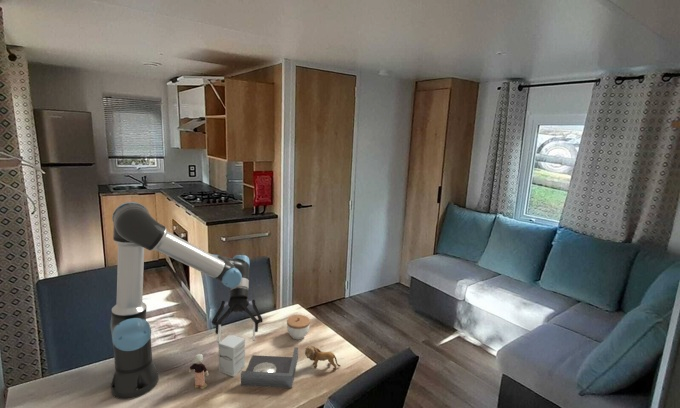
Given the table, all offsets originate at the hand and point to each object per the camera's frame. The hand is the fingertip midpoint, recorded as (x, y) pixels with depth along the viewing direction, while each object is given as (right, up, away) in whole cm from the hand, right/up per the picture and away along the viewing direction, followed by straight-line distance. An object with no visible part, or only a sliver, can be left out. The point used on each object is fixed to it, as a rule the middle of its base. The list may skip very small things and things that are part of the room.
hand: (236, 341), depth 144 cm
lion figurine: (+34, -11, +2) cm, 36 cm away
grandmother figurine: (-10, -12, -12) cm, 20 cm away
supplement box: (-1, -10, -2) cm, 11 cm away
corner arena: (+14, -11, -2) cm, 18 cm away
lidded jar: (+22, -7, +23) cm, 33 cm away
